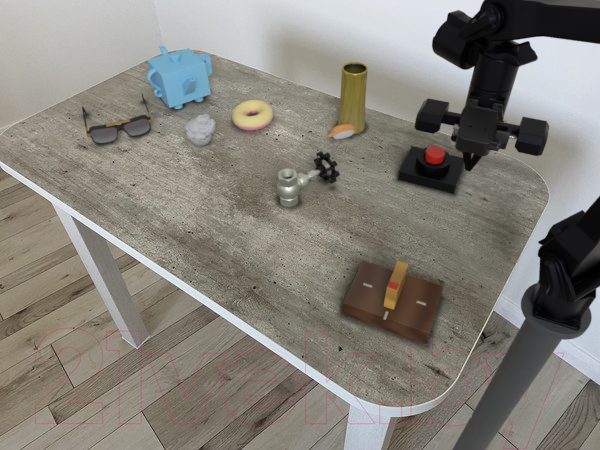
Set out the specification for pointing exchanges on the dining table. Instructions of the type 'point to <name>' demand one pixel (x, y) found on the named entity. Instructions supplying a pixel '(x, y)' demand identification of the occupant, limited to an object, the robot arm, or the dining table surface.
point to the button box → (431, 170)
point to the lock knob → (395, 285)
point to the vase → (353, 95)
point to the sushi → (342, 131)
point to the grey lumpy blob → (200, 129)
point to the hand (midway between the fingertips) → (468, 169)
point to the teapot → (180, 76)
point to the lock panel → (409, 308)
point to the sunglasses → (119, 128)
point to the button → (434, 155)
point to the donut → (252, 122)
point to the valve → (304, 179)
